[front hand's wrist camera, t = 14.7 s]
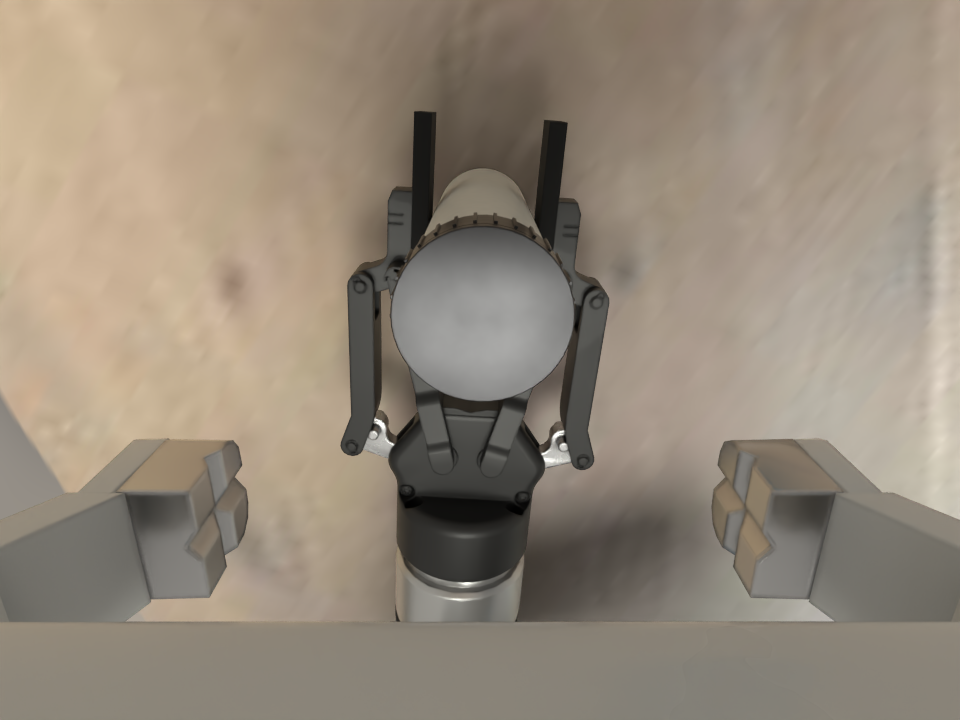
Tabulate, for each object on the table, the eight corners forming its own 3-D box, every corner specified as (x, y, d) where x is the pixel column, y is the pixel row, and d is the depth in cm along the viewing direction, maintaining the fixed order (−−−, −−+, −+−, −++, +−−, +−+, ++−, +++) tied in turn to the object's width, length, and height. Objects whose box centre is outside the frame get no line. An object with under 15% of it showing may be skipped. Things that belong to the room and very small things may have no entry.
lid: (454, 175, 19) (451, 182, 17) (604, 273, 20) (616, 290, 18) (365, 323, 20) (353, 345, 18) (506, 406, 21) (509, 434, 20)
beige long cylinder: (468, 150, 35) (455, 194, 17) (543, 200, 36) (601, 289, 18) (422, 227, 36) (367, 338, 19) (495, 273, 37) (506, 418, 20)
